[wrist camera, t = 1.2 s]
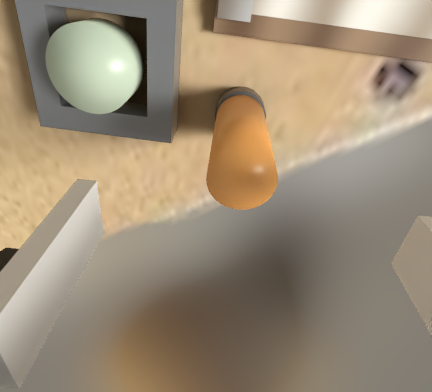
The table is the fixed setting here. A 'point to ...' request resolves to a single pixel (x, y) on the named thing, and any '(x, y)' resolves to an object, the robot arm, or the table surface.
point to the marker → (241, 152)
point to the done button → (94, 65)
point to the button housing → (129, 112)
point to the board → (334, 24)
